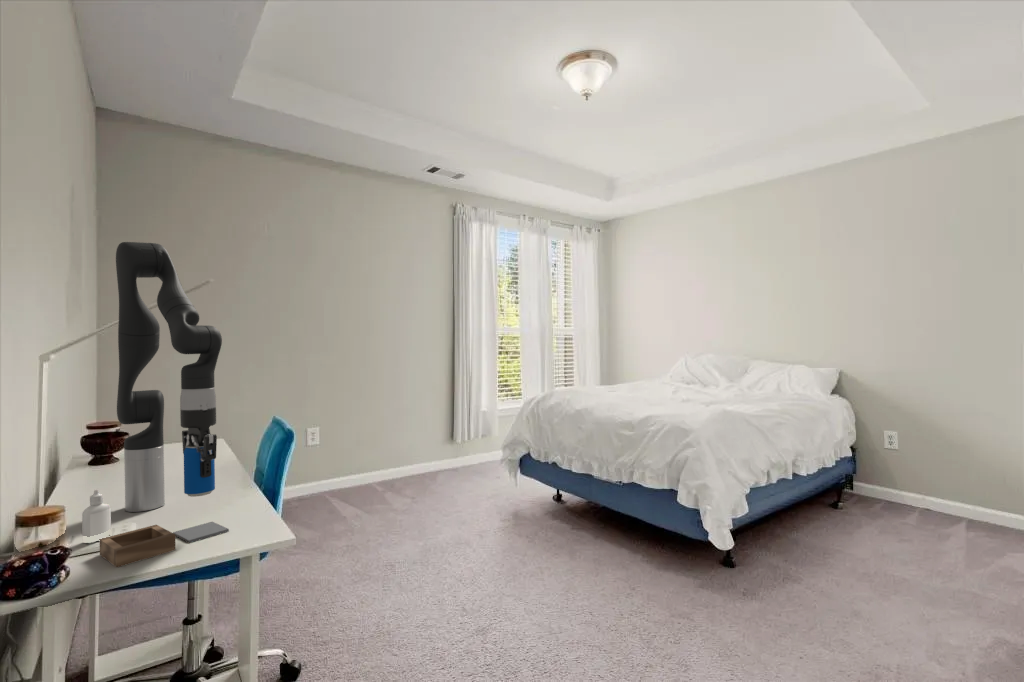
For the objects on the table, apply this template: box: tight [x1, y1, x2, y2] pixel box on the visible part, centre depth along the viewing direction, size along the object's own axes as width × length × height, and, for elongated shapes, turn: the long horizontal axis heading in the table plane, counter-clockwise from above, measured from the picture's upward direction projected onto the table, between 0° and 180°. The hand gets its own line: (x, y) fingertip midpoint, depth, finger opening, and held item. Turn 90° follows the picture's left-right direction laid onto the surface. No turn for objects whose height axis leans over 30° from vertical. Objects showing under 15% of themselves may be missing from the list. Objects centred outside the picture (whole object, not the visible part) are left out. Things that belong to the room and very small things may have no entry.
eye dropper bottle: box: [81, 488, 112, 537], centre depth 124 cm, size 4×6×12 cm
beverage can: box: [183, 445, 216, 498], centre depth 128 cm, size 6×6×12 cm
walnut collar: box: [99, 524, 177, 568], centre depth 117 cm, size 11×11×4 cm
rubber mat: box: [172, 521, 230, 543], centre depth 128 cm, size 9×9×1 cm
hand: (199, 474), depth 128 cm, fingers closed on beverage can, 6 cm apart
